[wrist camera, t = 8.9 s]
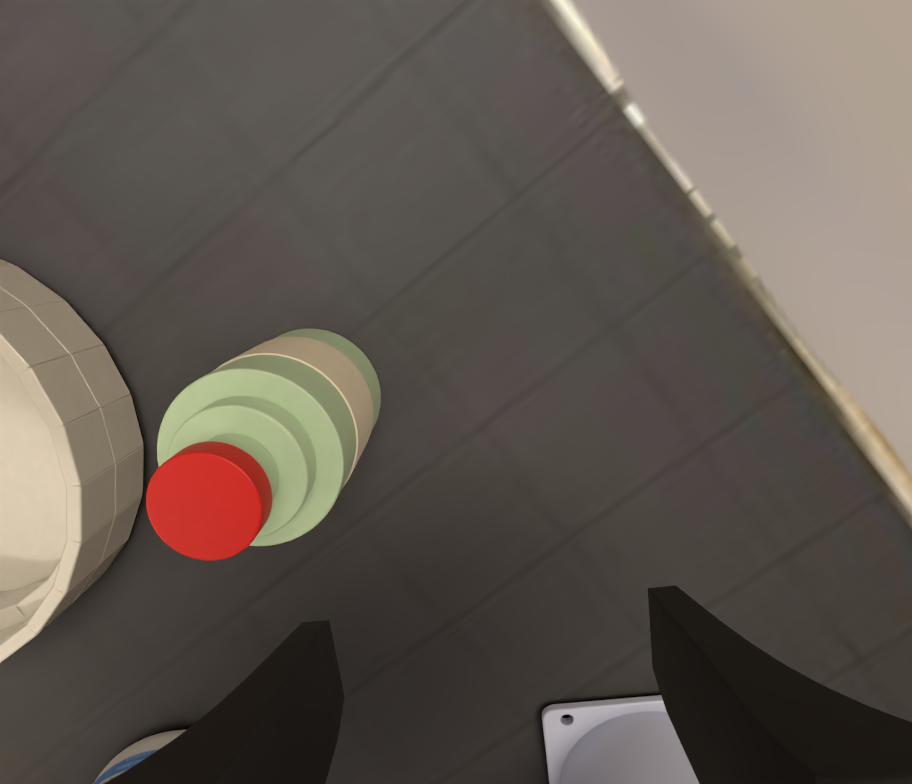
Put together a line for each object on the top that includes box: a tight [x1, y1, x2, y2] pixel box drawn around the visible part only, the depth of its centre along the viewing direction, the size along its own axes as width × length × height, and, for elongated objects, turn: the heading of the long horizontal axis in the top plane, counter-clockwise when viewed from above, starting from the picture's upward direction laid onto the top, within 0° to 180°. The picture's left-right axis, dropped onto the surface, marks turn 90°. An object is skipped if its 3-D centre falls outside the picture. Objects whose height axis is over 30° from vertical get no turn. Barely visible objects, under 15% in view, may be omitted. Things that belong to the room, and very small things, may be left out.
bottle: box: [146, 328, 381, 561], centre depth 19 cm, size 5×5×10 cm
